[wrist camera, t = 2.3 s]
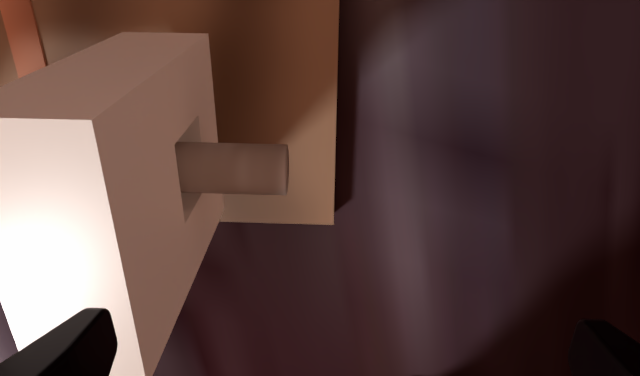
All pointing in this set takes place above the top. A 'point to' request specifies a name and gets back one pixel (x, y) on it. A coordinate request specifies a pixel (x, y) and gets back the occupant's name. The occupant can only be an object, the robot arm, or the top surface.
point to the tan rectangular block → (106, 190)
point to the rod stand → (222, 90)
